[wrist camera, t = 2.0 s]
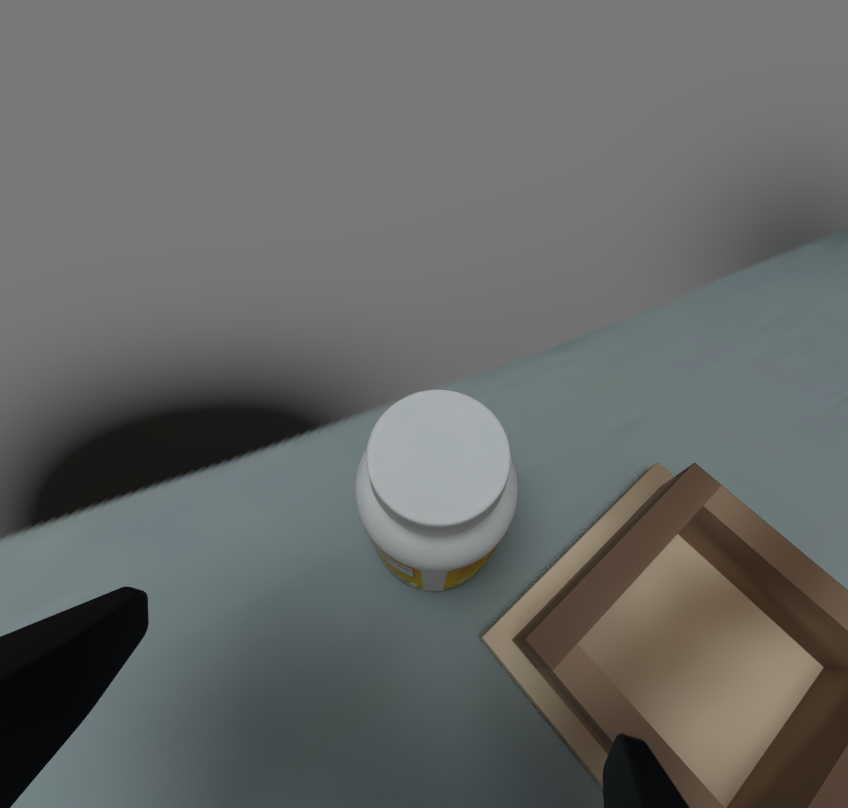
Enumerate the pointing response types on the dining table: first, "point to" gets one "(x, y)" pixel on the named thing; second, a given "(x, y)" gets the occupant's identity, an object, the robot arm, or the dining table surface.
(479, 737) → the dining table surface
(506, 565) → the dining table surface
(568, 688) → the socket board
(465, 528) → the supplement bottle
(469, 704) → the dining table surface
